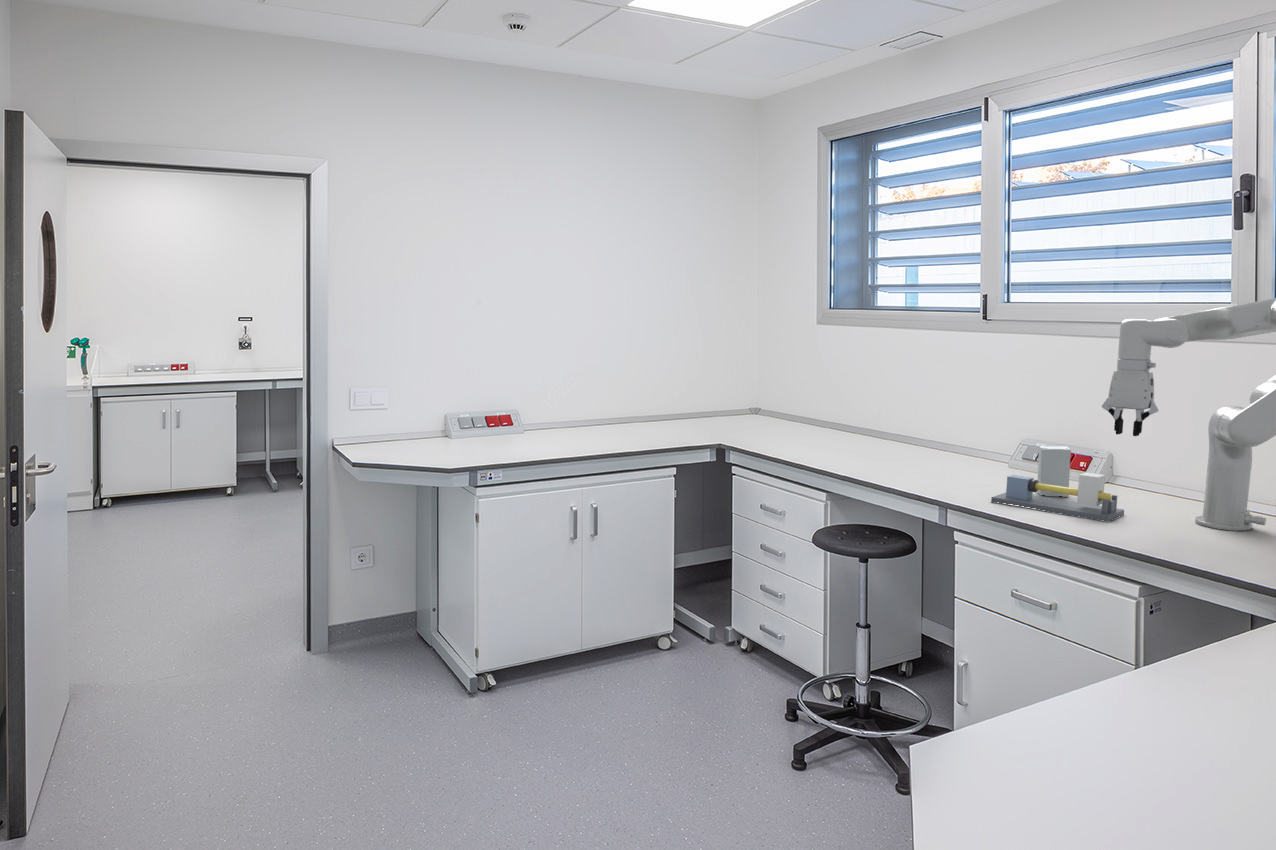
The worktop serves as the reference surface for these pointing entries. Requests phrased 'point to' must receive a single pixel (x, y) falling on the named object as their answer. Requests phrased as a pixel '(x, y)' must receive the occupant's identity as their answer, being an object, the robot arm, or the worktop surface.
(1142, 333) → the robot arm
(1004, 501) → the yellow rod jig
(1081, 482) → the sleeve
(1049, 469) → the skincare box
